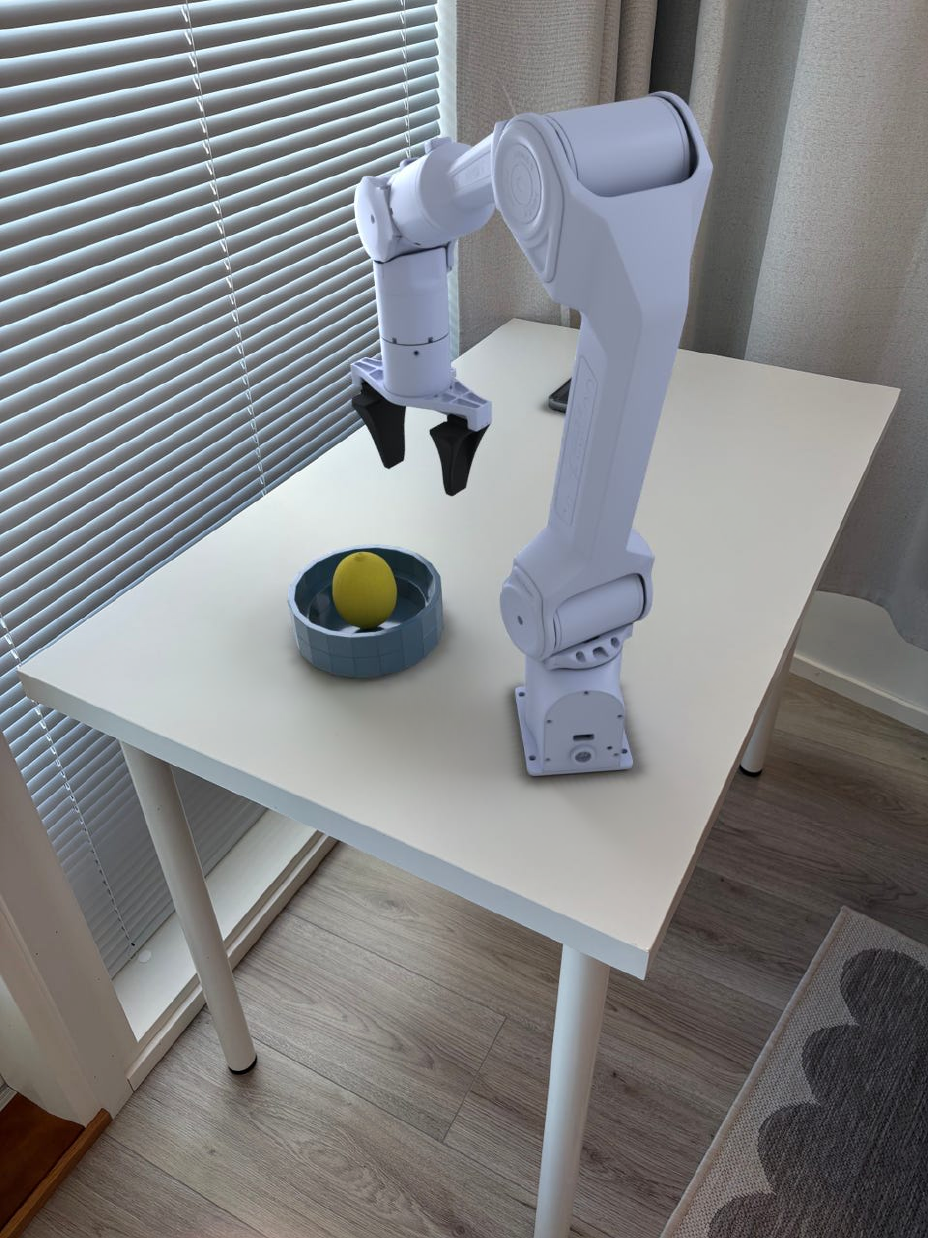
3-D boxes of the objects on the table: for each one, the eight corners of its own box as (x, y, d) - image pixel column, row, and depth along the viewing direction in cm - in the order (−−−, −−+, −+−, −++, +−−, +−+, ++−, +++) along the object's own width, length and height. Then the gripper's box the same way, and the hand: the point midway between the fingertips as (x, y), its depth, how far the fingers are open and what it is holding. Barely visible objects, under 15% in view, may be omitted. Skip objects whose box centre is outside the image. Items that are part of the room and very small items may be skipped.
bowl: (447, 676, 80) (445, 631, 77) (291, 687, 80) (282, 642, 77) (440, 583, 91) (437, 540, 87) (301, 592, 90) (293, 549, 87)
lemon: (391, 650, 82) (383, 576, 77) (330, 643, 83) (318, 569, 78) (406, 610, 86) (400, 538, 81) (348, 604, 87) (338, 532, 82)
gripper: (515, 336, 76) (515, 484, 84) (385, 297, 83) (397, 436, 92) (457, 367, 71) (463, 518, 80) (326, 322, 79) (344, 465, 88)
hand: (424, 477), depth 86 cm, fingers open, 7 cm apart
